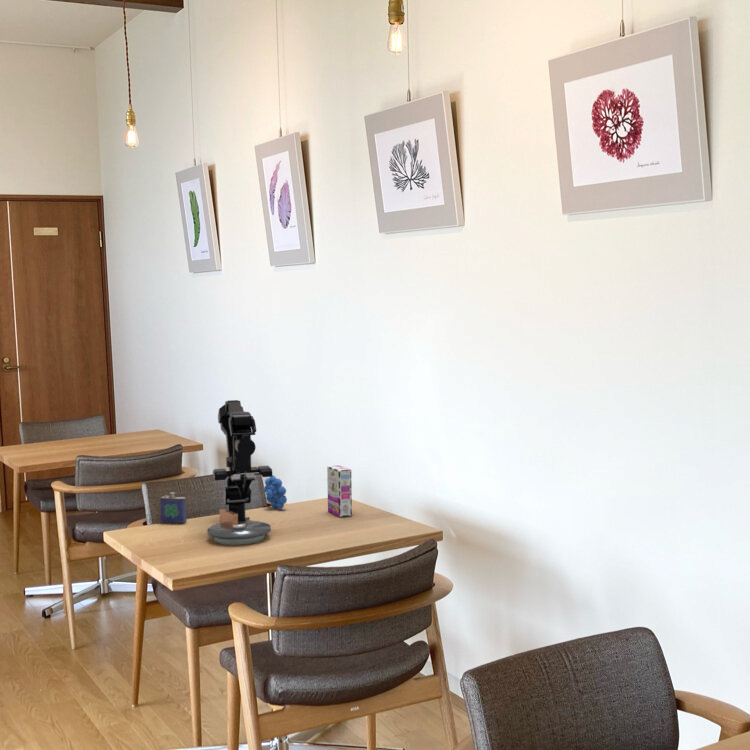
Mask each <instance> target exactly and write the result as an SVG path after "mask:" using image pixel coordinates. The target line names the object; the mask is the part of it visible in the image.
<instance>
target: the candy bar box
mask: <svg viewBox="0 0 750 750" xmlns="http://www.w3.org/2000/svg"><path fill="white" fill-rule="evenodd" d="M326 468H327V470H326V471H327V473H326V474H327V512H329V513H330V514H332V515H333V516H336V517H338V518H345V517H346V518H347V517H352V516H353V513H352V512H353V511H352V510H353V508H352V506H353V505H352V504H353V502H352V492H353V490H352V486H353V485H352V469H349V468H347V467H344V466H342V465H328V466H327V467H326Z"/></svg>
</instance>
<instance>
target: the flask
mask: <svg viewBox="0 0 750 750" xmlns="http://www.w3.org/2000/svg"><path fill="white" fill-rule="evenodd" d="M175 494H176V492H175V491H173V492H169V495H167V494H165V495H164V496H161V497H160V498H159V500H160V503H159V505H160V524H162V525H163V524H166V525H168V524H167V523H171V524H170V525H186V524H187V519H188V518H187V498H186V497H185V496H175ZM185 523H186V524H185Z"/></svg>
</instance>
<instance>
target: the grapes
mask: <svg viewBox="0 0 750 750" xmlns="http://www.w3.org/2000/svg"><path fill="white" fill-rule="evenodd" d="M264 484H265V486H264V487H263V492H264V493H265V495H266V498H265V499H266V501H267V502H268V503H270V505H271V507H272V508H273V509H275V508H276V509H279V510H283V509H284V508H285V505H286V503H287V501H288V499H287V496H286V493H287V489H286V487H284V485H283V481H282V480H281V479H280V478H277V477H276V476H275V475H273V474H272V477H266V479H265V480H264Z"/></svg>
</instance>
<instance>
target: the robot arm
mask: <svg viewBox="0 0 750 750" xmlns="http://www.w3.org/2000/svg"><path fill="white" fill-rule="evenodd" d="M217 421H218V424H219V425H220V430H221V432H222V433H223V435H225V439H226V450H227V451H226V453H227V457H225V463H226V464H225V465H226V468H228V470H227V469H226V468H215V469H213V470H212V478H213V480H214V481H224V480H226V479H227V481H226V482H225V487H223V497H222V498H223V504H224V506H227V507H228V508H227V509H228V511H231V512H234V513H237V514H238V521H249V520H250V517H248V516H246V504H251V502H252V498H251V497H252V489H251V488H250V486H251V484H252V482H253V481H256V478H255V476H257V475H260V476H262V478H270V477H272V475H273V469H272V468H271V467H270V466H269V465H260V466H259V465H257V468H253V469H252V455H253V454H254V453H255V452H256V444H255V441H253V440H252V438H251V437H252V436H256V433H257V426H256V421H255V418H254V415H253V416H252V414H251V413H250V412H249V411H244V407H243V405H242V404H241V400H238V399H234V400H232V399H231V400H225V402H224V405H222V406H221V407H220V408H218V414H217Z"/></svg>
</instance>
